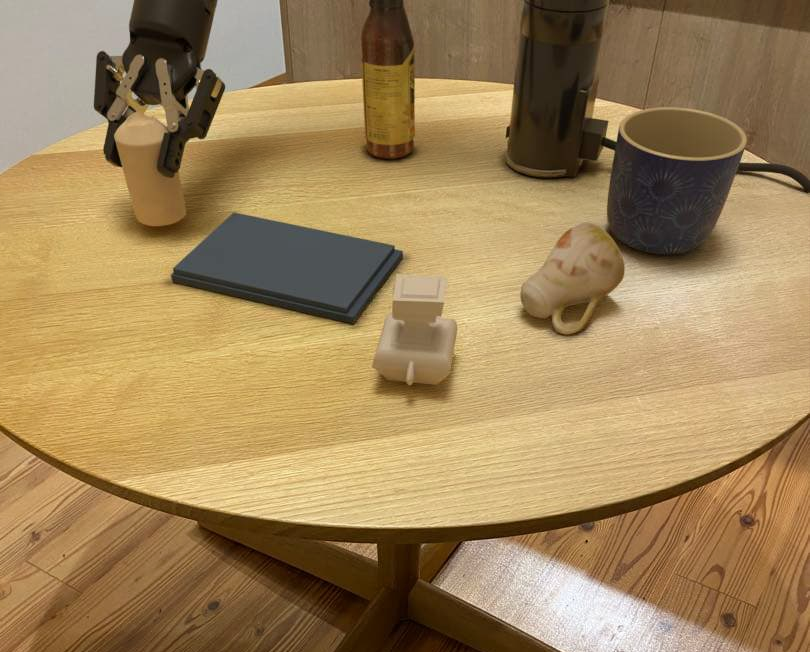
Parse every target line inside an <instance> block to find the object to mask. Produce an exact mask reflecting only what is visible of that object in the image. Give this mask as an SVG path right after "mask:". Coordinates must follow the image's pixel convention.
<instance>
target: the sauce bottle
mask: <svg viewBox="0 0 810 652" xmlns="http://www.w3.org/2000/svg"><path fill="white" fill-rule="evenodd" d="M404 4H405V3H404V0H369V1H368V6H369V8H370V9H369V12H368V14H367V17H366V19H365V21H364V22H363V23H364V24H363V26H362V29H361V33H360V35H361V36H360V41H361V58H360V59H361V61H360V62H361V63H360V64H361V80H362V81H361V82H362V102H363V121H364V139H365V141H366V149H367V152H368V153H369V154H370V155H372V156H374V157H376V158H379V159H387V160H391V159H399V158H404V157H406V156H408V155H409V154H410V153H411V152H412V151H413V149H414V138H415V135H416V127H415V125H416V122H415V121H416V120H415V119H416V118H415V117H416V113H415V112H416V111H415V110H416V109H415V108H416V106H415V105H416V104H415V103H416V97H415V95H416V94H415V93H416V89H415V88H416V87H415V86H416V85H415V84H416V81H415V80H416V79H415V78H416V75H415V74H416V73H415V60H416V59H415V53H416V52H415V51H416V50H415V40H414V37H413V34H412V29H411V26H410V22H409V19H408V15H407V12H406V9H405V5H404Z"/></svg>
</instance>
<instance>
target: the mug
mask: <svg viewBox="0 0 810 652" xmlns="http://www.w3.org/2000/svg"><path fill="white" fill-rule="evenodd" d="M625 272H626V269H625V261H624V258H623V254H622V253H621V250H620V248H619V246H618V244H617V243H616V242H615V240H614V239H613V238H612V236H611V235H610V234H609V232H607V231H606V230H605V229H604V228H602V227H601V226H599V225H597V224H595V223H592V222H589V221H586V222H581V223H578V224H577V225H575V226H572V227H570V228H569V229H568V230H566V231H565V232H564V233H563V234H562V235H561V236H560V237H559V239H558V240H557V241H556V243H555V244H554V246H553V248H552V249H551V251H550V253H549V255H548V256H547V258H546V260H545V261H544V263H543V265H542V266H541V267H540V268H539V269H538V270H537V271H536V272H535V273H533V275H532V276H530V277H528V279H525V280H524V281H523V283H522V285H521V287H520V291H519V297H520V302H521V304H522V307H523V308H524V309H525V311H526V312H527V313H528V314H529V315H530V316H532V317H534V318H538V319H546V318H548V317H550V316H551V322H552V323H551V324H552V326H553V329H554V330H555V331H556V333H559V334H562V335H571V334H575V333H577V332H579V331H581V330H582V329H584V328H585V326H587V324H588V323H589V321H590V318H591V317H592V314H593V312H594V311H595V309H596V308H597V307H598V305H599V304H600V303H601V301H603V300H604V299H605V297H606V296H607V295H609V294H610V293H612V292H613V291H614V290H615V289H616V288H617V287H618V286H619V285H620V284H621V283H622V281H623V280H624V276H625ZM584 303H588V304H587V307H586V309H585V312H584V313H583V315H582V317H581V319H580V320H579V322H577V323H576V324H571V325H567V324H565V323H564V322H563V321H562V315H563V313H564V311H565V308H566V307H569V306H574V305H580V304H584Z"/></svg>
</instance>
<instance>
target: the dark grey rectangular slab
mask: <svg viewBox="0 0 810 652" xmlns="http://www.w3.org/2000/svg"><path fill="white" fill-rule="evenodd" d="M403 257H404V251H403V250H399V249H396V245H395V244H391V243H384V242H380V241H375V240H371V239H366V238H359V237H356V236H352V235H345V234H341V233H336V232H331V231H328V230H327V231H326V230H323V229H322V230H321V229H315V228H312V227H307V226H302V225H298V224H292V223H288V222H284V221H278V220H273V219H268V218H264V217H259V216H254V215H248V214H245V213H239V212H232V213H231V214H230V215H229V216H228V217H227V218H226V219H225V220H224V221H222V222H221V223H220V224H219V225H218V226H217V227H216V228H215V229H213V231H211V233H209V234H208V235H207V236H206V237H205V238H204V239H203V240H202V241H201V242H200V243H198V245H196V246H195V247H194V248H193V249H192V250H191V251H190V252H189V253H188V254H186V255H185V256H184V257H183V258H182V259H181V260H180V261H179V262H178V263H177V264H176V265H175V266H174V267H173V268H172V273H171V274H170V277H171V281H172V283H176V284H180V285H184V286H189V287H193V288H197V289H203V290H206V291H211V292H215V293H218V294H219V293H220V294H223V295H228V296H232V297H236V298H241V299H244V300H248V301H253V302H258V303H262V304H266V305H271V306H274V307H278V308H283V309H286V310H287V309H288V310H292V311H296V312H301V313H305V314H309V315H313V316H318V317H322V318H326V319H330V320H333V321H334V320H335V321H338V322H342V323H347V324H352V325H354V324H355V323H356V322H357V320H358V319H359V317H360V316H361V315H362V313H363V312H364V311H365V310H366V308H367V307H368V305H369V304H370V302H371V301H372V300H373V299H374V297H375V296H376V295H377V293H378V292H379V290H380V289H381V288H382V287H383V285H384V284H385V282H386V281H387V280H388V278H389V277H390V276H391V274H392V273H393V272H394V270H395V269H396V268H397V266H398V265H399V264H400V262H401V261H402V259H403Z"/></svg>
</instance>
